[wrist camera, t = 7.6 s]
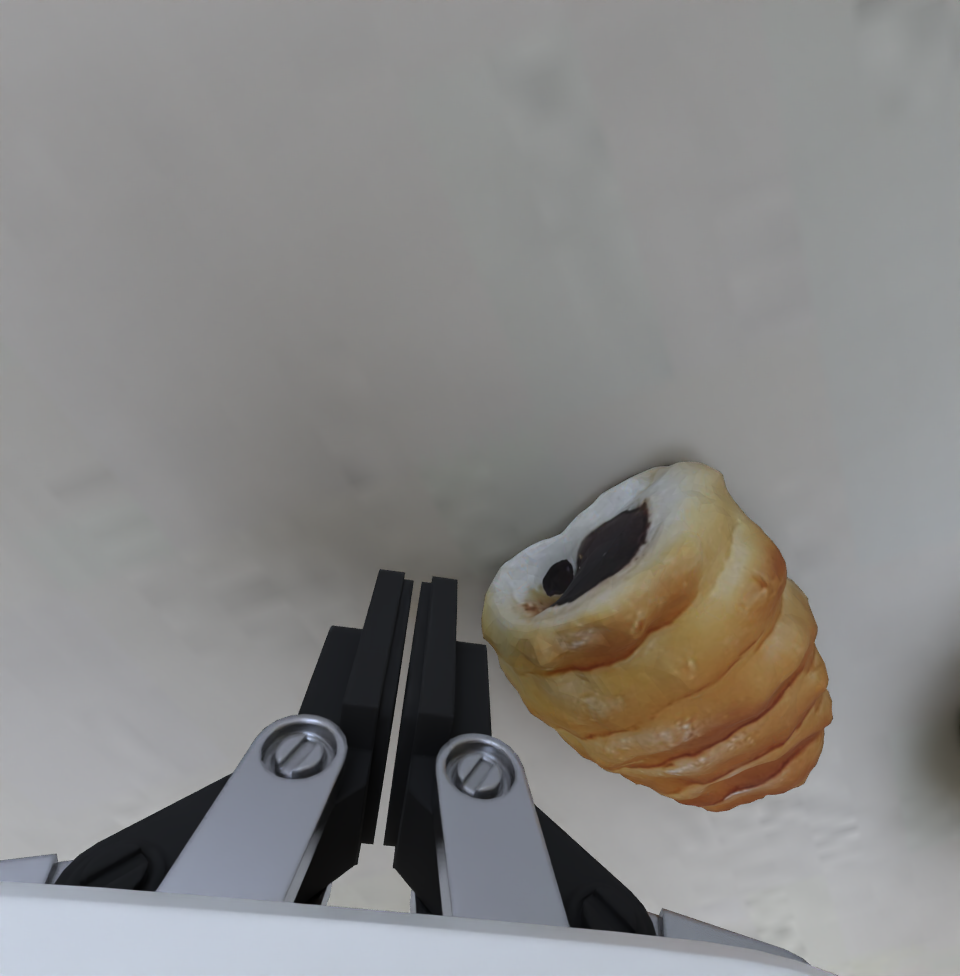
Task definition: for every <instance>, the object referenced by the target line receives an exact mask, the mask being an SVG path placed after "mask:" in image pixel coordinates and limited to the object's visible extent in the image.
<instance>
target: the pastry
mask: <svg viewBox="0 0 960 976" xmlns="http://www.w3.org/2000/svg"><path fill="white" fill-rule="evenodd" d="M481 620H482V632H483V638H484V639H485V640H486V641H487V642H488V643H489V644H490V645H491V646H492V647H493V648H494V650H495V651H496V653H497V655H498V659H499V664H500V667H501V669H502V670H503V672H504V673H505V675H506V677H507V678H508V680H509V681H510V683H511V684H512V685H513V686H514V688H515V689H516V690H517V691H518V693H519V694H520V696H521V698H522V700H523V702H524V704H525V705H526V707H527V708H528V710H529V711H530V713H531V714H533V715H534V716H535V717H537V718H539V719H540V720H542V721H543V722H544V723H546V724H547V725H548V726H550V727H552V728H554V729H555V730H556V731H557V732H558V733H559V735H560V736H561V737H562V738H563V739H564V741H565V742H567V743H568V744H569V745H570V746H571V747H572V748H574V749H575V750H576V751H577V752H578V753H579V754H580V755H581V756H582V757H584V758H586V759H589V760H591V761H593V762H594V763H596V764H598V765H599V766H600V767H601V768H603V769H605V770H606V771H609V772H613V773H620V774H621V775H622V776H623V777H625V778H627V779H629V780H630V781H632V782H634V783H635V784H636V785H637V784H641V785H644V786H647V787H650V788H651V789H653V790H655V791H656V792H658V793H659V794H661V795H663V796H666V797H669V798H672V799H674V800H676V801H677V802H679V803H681V804H685V805H694V806H697V807H702V808H704V809H706V810H707V811H713V812H720V811H727V810H730V809H732V808H734V807H736V806H738V805H741V804H747V803H751V802H753V801H755V800H757V799H762V798H764V797H765V796H766V795H776V794H781V793H785V792H787V791H789V790H790V789H792V788H795V787H799V786H801V785H802V784H804V783H805V781H806V779H807V777H808V775H809V773H810V771H811V770H812V769H813V768H814V767H815V766H816V764H817V762H818V759H819V757H820V754H821V752H822V748H823V744H824V728H825V727H826V726H828V725H829V724H830V723H831V721H832V719H833V715H832V700H831V697H830V695H829V692H828V690H827V689H826V688H827V686H828V680H829V679H828V675H827V671H826V666H825V663H824V661H823V659H822V657H821V656H820V654H819V652H818V650H817V648H816V646H815V643H814V642H815V639H816V636H817V630H818V627H817V624H816V622H815V619H814V616H813V614H812V611H811V609H810V606H809V603H808V598H807V596H806V595H805V594H804V593H803V591H802V590H801V589H800V588H799V587H798V586H797V585H796V584H795V583H794V582H793V581H792V580H791V579H789V578H787V570H786V563H785V560H784V559H783V557H782V555H781V553H780V551H779V549H778V548H777V546H776V545H775V544H774V543H773V541H772V540H771V539H770V538H769V537H768V536H767V535H766V534H765V533H764V532H763V531H762V529H761V528H760V527H759V526H758V525H757V524H755V523H754V522H753V521H752V520H751V519H749V518H748V517H747V516H746V515H745V514H744V512H743V511H742V510H741V509H740V508H739V506H738V505H737V504H736V503H735V501H734V500H733V499H732V497H731V496H730V494H729V493H728V491H727V489H726V486H725V482H724V478H723V475H722V474H721V473H720V472H719V471H717V470H715V469H713V468H711V467H709V466H707V465H705V464H703V463H698V462H677V463H675V464H673V465H671V466H669V467H667V466H658V467H653V468H651V469H649V470H646V471H644V472H642V473H639V474H637V475H635V476H633V477H631V478H629V479H627V480H625V481H624V482H622V483H620V484H618V485H617V486H615V487H613V488H611V489H609V490H607V491H606V492H604V493H603V494H601V495H600V496H599V497H598V498H597V499H596V501H595V502H594V503H593V504H592V505H590V506H589V507H588V508H587V509H585V510H584V511H582V512H581V513H580V514H579V515H578V516H577V517H576V518H575V519H574V520H573V521H572V522H571V523H570V524H569V525H568V527H567V528H566V529H565V530H564V531H563V532H562V533H561V534H559V535H557V536H554V537H552V538H549V539H544V540H542V541H539V542H537V543H535V544H533V545H531V546H529V547H528V548H526V549H524V550H523V551H521V552H520V553H518V554H517V555H516V556H515V557H513V558H512V559H511V560H509V561H507V562H506V563H505V564H504V565H503V566H502V567H501V568H500V569H499V571H498V573H497V574H496V576H495V578H494V580H493V581H492V583H491V585H490V587H489V589H488V590H487V592H486V594H485V599H484V607H483V612H482V618H481Z"/></svg>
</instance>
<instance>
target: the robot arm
mask: <svg viewBox="0 0 960 976" xmlns="http://www.w3.org/2000/svg"><path fill="white" fill-rule="evenodd" d="M404 577H405V573H404V572H397V571H389V570H382V569H380V570H379V573H378V577H377V580H376V584H375V588H374V591H373V595H372V598H371V602H370V605H369V609H368V613H367V616H366V620H365V623H364V627H363V629H356V628H348V627H340V626H331V628H330V630H329V632H328V635H327V638H326V640H325V643H324V646H323V648H322V651H321V654H320V656H319V659H318V662H317V665H316V667H315V670H314V673H313V675H312V678H311V681H310V684H309V686H308V689H307V692H306V694H305V697H304V700H303V702H302V705H301V708H300V711H299V713H298V715H291V716H288V717H285V718H282V719H279V720H276V721H275V722H273V723H272V724H270V725H269V726H267V727H266V728H264V729H263V730H262V732H261V733H260V734H259V735H258V736H257V737H256V738H255V740H254V741H253V743H252V744H251V746H250V747H249V749H248V751H247V752H246V754H245V755H244V757H243V758H242V760H241V761H240V763H239V764H238V766H237V767H236V769H235V770H234V772H233V773H231V774H230V775H228V776H226V777H224V778H222V779H220V780H218V781H216V782H214V783H212V784H210V785H208V786H206V787H204V788H202V789H201V790H199V791H197V792H195V793H193V794H191V795H189V796H187V797H185V798H183V799H181V800H179V801H177V802H175V803H174V804H172V805H170V806H168V807H166V808H164V809H162V810H160V811H158V812H156V813H154V814H152V815H150V816H148V817H147V818H145V819H143V820H141V821H139V822H137V823H135V824H133V825H131V826H129V827H127V828H125V829H123V830H121V831H120V832H118V833H116V834H114V835H112V836H110V837H108V838H106V839H104V840H102V841H100V842H98V843H97V844H95V845H94V846H92V847H91V848H89V849H87V850H86V851H84V852H83V853H81V854H80V855H79V856H78V857H77V858H75V859H74V860H71V861H63V862H58V858H57V854H50V855H41V856H33V857H24V858H16V859H8V860H0V976H838V975H836V974H833V973H830V972H828V971H825V970H822V969H819V968H817V967H814V966H811V965H810V964H809V963H808V962H806V961H805V960H804V959H803V958H801V957H799V956H797V955H795V954H793V953H791V952H789V951H787V950H785V949H783V948H780V947H777V946H774V945H771V944H768V943H765V942H762V941H759V940H756V939H753V938H750V937H747V936H744V935H741V934H738V933H735V932H732V931H729V930H726V929H723V928H720V927H717V926H714V925H711V924H708V923H705V922H702V921H699V920H696V919H693V918H690V917H687V916H684V915H681V914H678V913H675V912H672V911H669V910H666V909H663V908H662V910H661V912H660V914H659V915H656V914H653V913H650V912H647V911H646V909H645V907H644V906H643V904H642V903H641V902H640V901H639V900H638V899H637V898H636V897H635V895H634V894H633V893H632V892H631V891H630V890H629V889H628V888H626V887H625V886H624V885H623V884H622V883H621V882H620V881H619V880H618V879H617V878H615V877H614V876H613V875H612V874H611V873H610V872H609V871H608V870H607V869H605V868H604V867H603V866H602V865H601V864H600V863H599V862H598V861H597V860H596V859H594V858H593V857H592V856H591V855H590V854H589V853H588V852H587V851H586V850H584V849H583V848H582V847H581V846H580V845H579V844H578V843H577V842H576V841H574V840H573V839H572V838H571V837H570V836H569V835H568V834H567V833H566V832H565V831H563V830H562V829H561V828H560V827H559V826H558V825H557V824H556V823H555V822H553V821H552V820H551V819H550V818H549V817H548V816H547V815H546V814H545V813H543V812H542V811H541V810H540V809H539V808H538V807H537V806H536V805H535V804H534V802H533V798H532V795H531V791H530V788H529V784H528V781H527V778H526V774H525V771H524V767H523V765H522V763H521V761H520V759H519V757H518V755H517V754H516V753H515V752H514V751H513V750H512V749H511V747H510V746H508V745H507V744H505V743H504V742H502V741H501V740H499V739H497V738H494V737H492V733H491V715H490V697H489V679H488V661H487V648H486V645H482V644H474V643H466V642H458V641H456V624H457V583H458V582H457V580H455V579H448V578H441V577H432V582H431V583H428V582H422V584H421V590H420V597H419V603H418V610H417V616H416V623H415V629H414V636H413V642H412V649H411V655H410V662H409V668H408V675H407V681H406V688H405V695H404V702H403V709H402V716H401V723H400V730H399V737H398V744H397V752H396V759H395V766H394V773H393V780H392V787H391V794H390V801H389V808H388V816H387V823H386V830H385V837H384V844H383V845H386V846H395V853H394V862H393V868H395V869H396V870H397V872H398V873H399V874H400V875H401V877H402V878H403V879H404V880H405V881H406V883H407V884H408V885H409V886H410V888H411V889H412V890H411V899H410V913H405V912H393V911H382V910H370V909H358V908H347V907H335V906H327V903H328V900H329V897H330V892H331V887H332V882H333V881H334V880H336V879H337V878H338V877H340V876H341V875H342V874H344V873H345V872H346V871H348V870H349V869H350V868H352V867H353V866H354V865H357V864H358V858H359V853H360V847H361V843H365V844H373V843H374V836H375V830H376V824H377V818H378V811H379V805H380V799H381V792H382V786H383V780H384V773H385V767H386V761H387V754H388V748H389V742H390V735H391V729H392V723H393V716H394V710H395V704H396V697H397V691H398V684H399V677H400V671H401V664H402V657H403V650H404V644H405V637H406V630H407V623H408V617H409V610H410V603H411V596H412V589H413V583H414V581H413V580H405V579H404Z"/></svg>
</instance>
